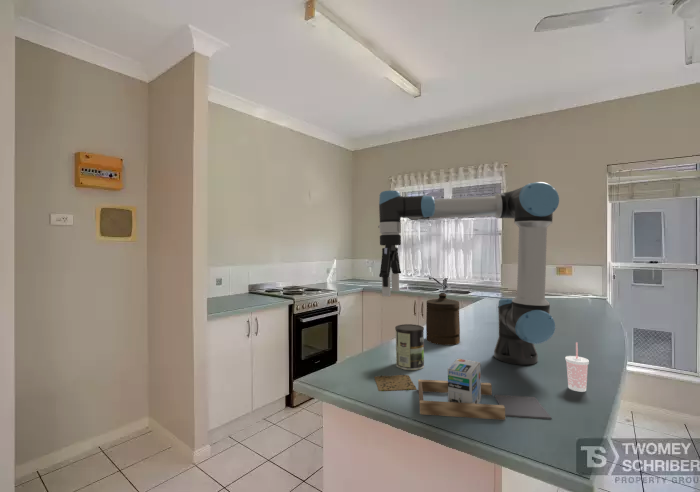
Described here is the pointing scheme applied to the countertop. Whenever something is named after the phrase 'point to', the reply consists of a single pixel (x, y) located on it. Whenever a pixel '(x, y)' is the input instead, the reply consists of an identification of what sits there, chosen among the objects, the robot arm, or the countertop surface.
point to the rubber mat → (522, 407)
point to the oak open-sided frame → (454, 407)
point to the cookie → (394, 383)
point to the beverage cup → (577, 372)
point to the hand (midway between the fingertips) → (391, 293)
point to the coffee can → (409, 347)
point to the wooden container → (442, 321)
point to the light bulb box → (464, 382)
